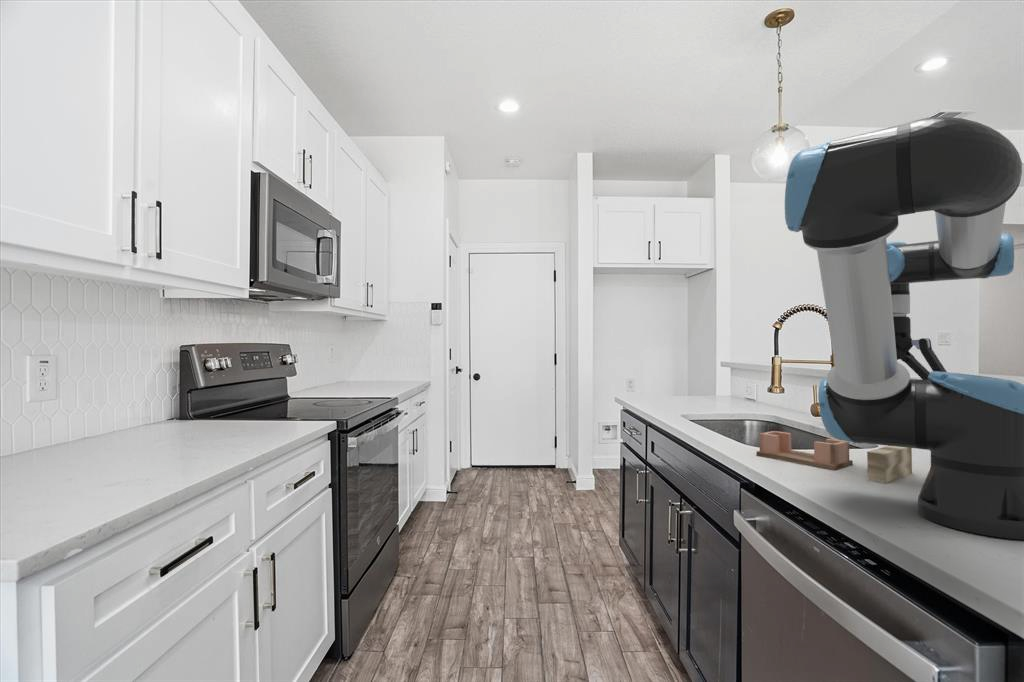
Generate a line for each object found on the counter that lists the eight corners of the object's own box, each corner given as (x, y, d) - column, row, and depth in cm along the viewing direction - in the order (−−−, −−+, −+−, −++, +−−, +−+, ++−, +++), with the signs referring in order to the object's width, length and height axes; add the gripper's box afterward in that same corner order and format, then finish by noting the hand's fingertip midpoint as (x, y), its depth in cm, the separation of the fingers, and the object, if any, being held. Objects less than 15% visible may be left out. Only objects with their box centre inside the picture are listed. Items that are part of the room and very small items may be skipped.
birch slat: (884, 484, 98) (884, 454, 98) (867, 480, 101) (867, 451, 101) (912, 473, 106) (911, 446, 106) (895, 470, 109) (895, 444, 109)
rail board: (833, 470, 109) (833, 465, 109) (756, 455, 124) (756, 451, 124) (852, 464, 113) (852, 460, 114) (775, 451, 129) (775, 447, 129)
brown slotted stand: (835, 465, 109) (834, 445, 109) (759, 451, 124) (759, 433, 124) (849, 460, 113) (849, 441, 113) (774, 447, 128) (774, 430, 128)
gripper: (971, 313, 95) (973, 421, 95) (832, 319, 116) (834, 407, 116) (958, 312, 91) (960, 425, 91) (816, 318, 112) (818, 410, 112)
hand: (889, 415), depth 104 cm, fingers open, 13 cm apart
